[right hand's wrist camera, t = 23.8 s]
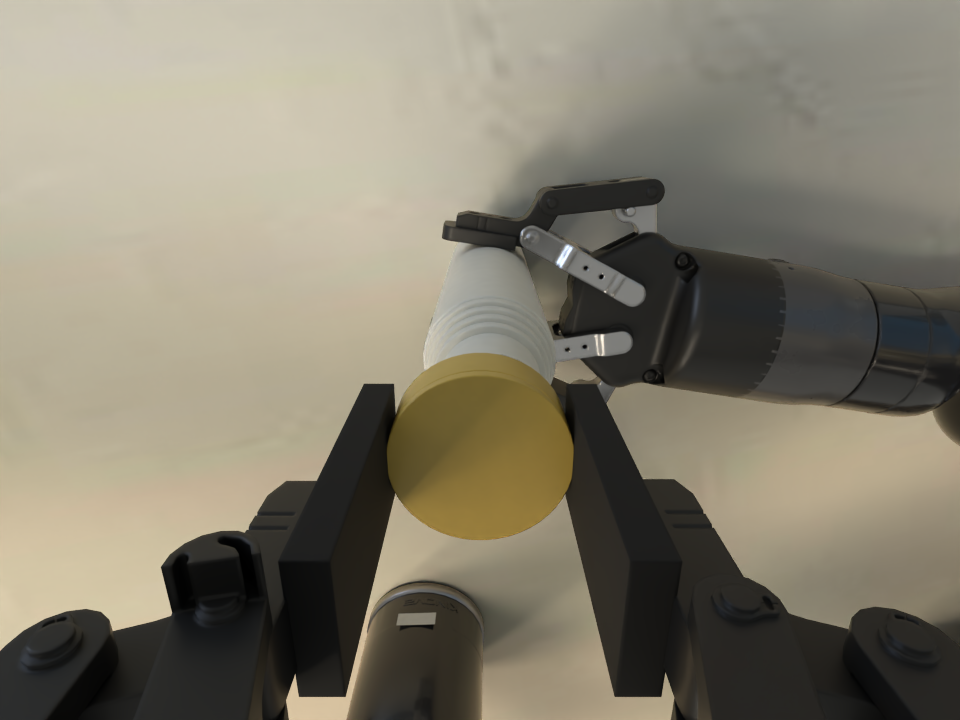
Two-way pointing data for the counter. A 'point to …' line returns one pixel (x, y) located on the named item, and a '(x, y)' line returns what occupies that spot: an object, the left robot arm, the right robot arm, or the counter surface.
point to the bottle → (490, 311)
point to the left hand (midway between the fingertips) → (438, 280)
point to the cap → (480, 447)
